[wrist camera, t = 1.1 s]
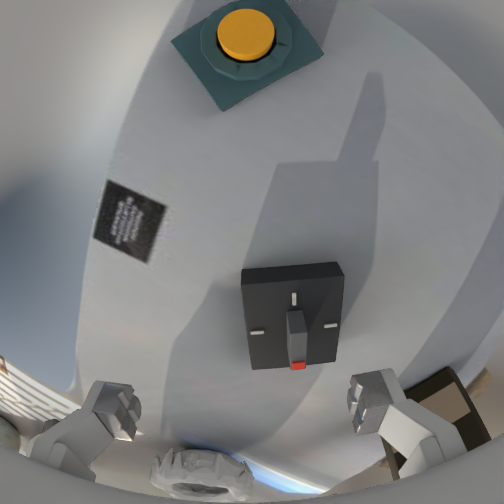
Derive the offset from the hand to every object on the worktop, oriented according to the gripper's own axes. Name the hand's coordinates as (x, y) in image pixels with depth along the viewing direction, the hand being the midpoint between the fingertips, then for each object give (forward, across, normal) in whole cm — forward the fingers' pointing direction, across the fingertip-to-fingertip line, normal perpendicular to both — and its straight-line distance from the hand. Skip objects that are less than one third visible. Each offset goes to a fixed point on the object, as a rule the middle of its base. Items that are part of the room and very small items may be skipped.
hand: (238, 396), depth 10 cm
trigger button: (+16, -1, -16) cm, 23 cm away
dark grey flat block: (+21, -4, +11) cm, 24 cm away
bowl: (+22, +14, +49) cm, 55 cm away
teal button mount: (+20, -1, -16) cm, 26 cm away
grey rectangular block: (+18, -4, +11) cm, 21 cm away
